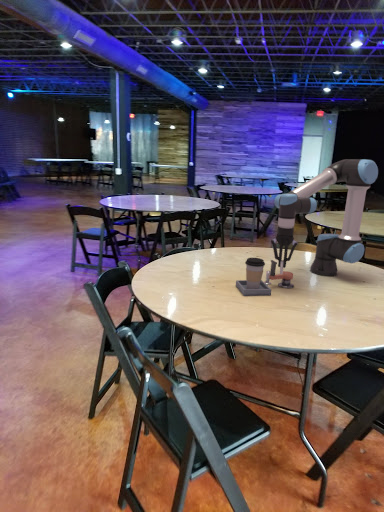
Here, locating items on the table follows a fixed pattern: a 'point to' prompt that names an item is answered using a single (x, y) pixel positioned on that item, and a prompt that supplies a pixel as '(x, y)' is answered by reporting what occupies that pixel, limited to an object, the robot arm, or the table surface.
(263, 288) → the tray
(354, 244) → the robot arm
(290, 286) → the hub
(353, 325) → the table surface
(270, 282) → the peg
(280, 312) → the table surface
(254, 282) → the coffee cup
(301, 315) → the table surface
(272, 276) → the crank
